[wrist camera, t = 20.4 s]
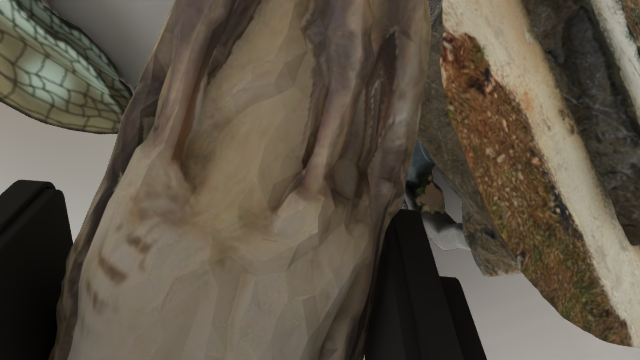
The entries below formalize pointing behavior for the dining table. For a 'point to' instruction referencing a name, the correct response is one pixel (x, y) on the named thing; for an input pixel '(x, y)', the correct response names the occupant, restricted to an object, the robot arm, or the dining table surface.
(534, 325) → the dining table surface
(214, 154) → the bird model
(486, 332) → the dining table surface
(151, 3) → the dining table surface
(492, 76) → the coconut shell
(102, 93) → the insect sculpture
